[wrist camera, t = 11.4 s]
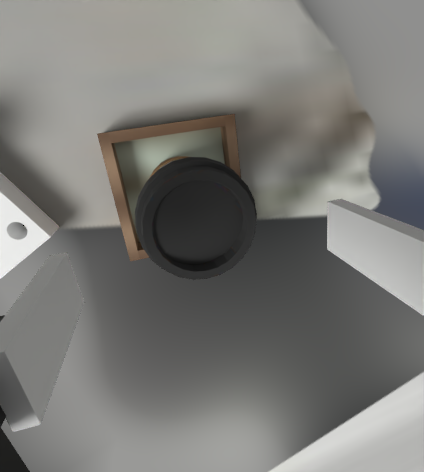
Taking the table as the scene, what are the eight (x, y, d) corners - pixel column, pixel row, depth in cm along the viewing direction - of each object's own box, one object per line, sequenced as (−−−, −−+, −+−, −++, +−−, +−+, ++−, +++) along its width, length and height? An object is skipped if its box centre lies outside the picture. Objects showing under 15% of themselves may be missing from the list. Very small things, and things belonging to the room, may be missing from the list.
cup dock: (102, 133, 30) (97, 133, 27) (227, 115, 32) (234, 113, 29) (131, 250, 35) (130, 261, 32) (239, 229, 37) (246, 237, 34)
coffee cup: (230, 192, 34) (286, 236, 20) (172, 236, 35) (188, 308, 21) (186, 129, 31) (216, 129, 17) (123, 178, 31) (102, 218, 18)
